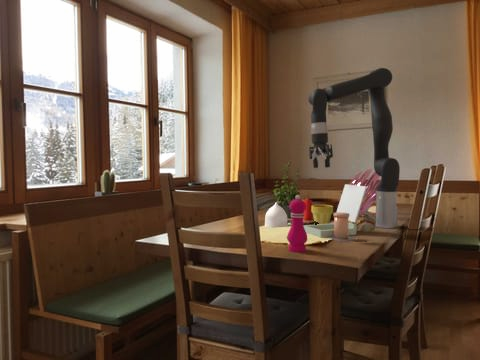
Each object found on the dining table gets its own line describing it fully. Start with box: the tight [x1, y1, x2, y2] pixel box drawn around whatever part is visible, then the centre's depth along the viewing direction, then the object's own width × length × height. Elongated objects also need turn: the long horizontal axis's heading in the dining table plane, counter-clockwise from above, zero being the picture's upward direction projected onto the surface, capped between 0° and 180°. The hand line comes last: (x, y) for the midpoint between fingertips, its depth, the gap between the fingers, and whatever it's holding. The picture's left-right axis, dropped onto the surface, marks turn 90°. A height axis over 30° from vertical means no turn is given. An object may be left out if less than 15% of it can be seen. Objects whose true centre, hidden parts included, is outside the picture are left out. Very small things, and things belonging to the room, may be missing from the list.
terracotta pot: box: [333, 211, 349, 239], centre depth 171 cm, size 6×6×10 cm
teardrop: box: [264, 201, 289, 228], centre depth 205 cm, size 11×11×12 cm
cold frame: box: [303, 183, 367, 238], centre depth 183 cm, size 23×14×21 cm, turn 114°
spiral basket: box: [347, 168, 381, 218], centre depth 239 cm, size 28×28×27 cm
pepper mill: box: [286, 194, 308, 253], centre depth 153 cm, size 7×7×20 cm
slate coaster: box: [326, 235, 359, 244], centre depth 171 cm, size 9×9×1 cm
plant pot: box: [310, 204, 334, 224], centre depth 206 cm, size 10×10×10 cm
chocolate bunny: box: [357, 210, 377, 233], centre depth 190 cm, size 6×8×10 cm
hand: (321, 167), depth 197 cm, fingers open, 8 cm apart
